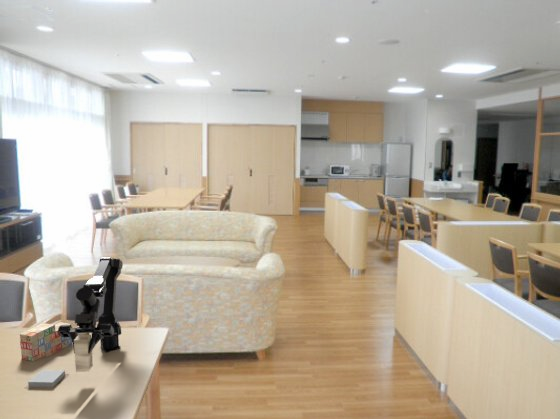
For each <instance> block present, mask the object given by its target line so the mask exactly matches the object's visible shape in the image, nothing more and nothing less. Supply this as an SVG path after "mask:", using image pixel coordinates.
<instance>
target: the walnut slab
mask: <svg viewBox="0 0 560 419" xmlns="http://www.w3.org/2000/svg"><path fill="white" fill-rule="evenodd" d="M69 375H70V373H65V376H64V377H63V378H62V379H61V380H60V381H59V382H58V383H57V384H56V385H55V386H54V387H53V388H48V387H28V384H27V385H26V386H25V387H24V389H31V390H33V389H35V390H37V389H39V390H40V389H41V390H46V389H47V390H55V389H56V388H57V387H58V386H59V385H60V384H61V383H62V382H63V381H64V380H65V379H66V378H67V377H68V376H69Z"/></svg>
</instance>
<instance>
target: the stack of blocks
mask: <svg viewBox="0 0 560 419" xmlns="http://www.w3.org/2000/svg"><path fill="white" fill-rule="evenodd" d="M61 325H71V326H72V323H68V322H67V323H66V322H58V323H56V324H51V323H44V322H43V323H41V324H39V325H36V326H34V327H32V328H30V329H28V330H25V331H24V332H21V333H20V334H19V339H20V340H19V342H20V352H21V360H26V361H30V362H34V361H36V360H39V359H40V358H43V357H50V356H52V355H53V354H55V353H57V352H59V351H61V350H62V349H65V348H66V347H68V346H70V345H73V342H72V339H71V338H70V337H67V338H64V337H61V335H60V334H59V333H58V328H59V327H60V326H61Z"/></svg>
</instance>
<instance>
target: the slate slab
mask: <svg viewBox="0 0 560 419" xmlns="http://www.w3.org/2000/svg"><path fill="white" fill-rule="evenodd" d="M65 374H66V371H65V370H64V369H63V370H59V369H58V370H57V369H43V370H42V369H41V370H40V371H39V372H38V373H36V374H35V375H34V376H33V377H32V378H31V379H30V380H29V381H28V382H27V385H28V387H48V388H53V387H54V386H55V385H56V384H57V383H58V382H59V381H60V380H61V379H62V378H63V377H64V376H65Z"/></svg>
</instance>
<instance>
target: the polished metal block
mask: <svg viewBox="0 0 560 419" xmlns="http://www.w3.org/2000/svg"><path fill="white" fill-rule="evenodd" d="M91 337H92V334H89V335H78V336H77V337H76V338H75V339H74V348H73V351H74V350H75V353H74V359H75V360H74V362H75V364H74V365H75V373H83V372H87V373H88V372H90V370H91V369H92V368H93V366H94V364H93V350H92V351H91V352H90V353H88V350H89V345H90V341H91Z"/></svg>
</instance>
